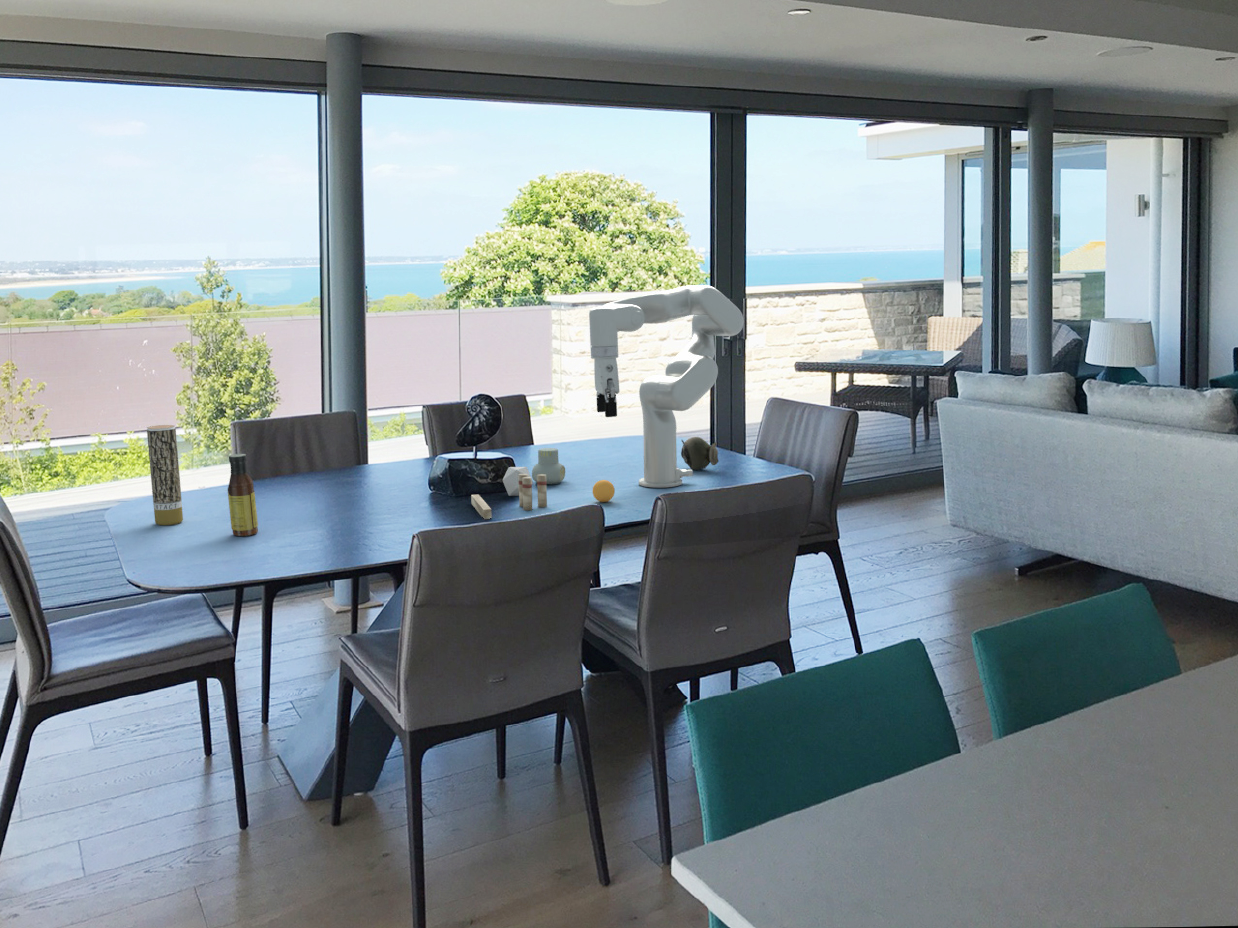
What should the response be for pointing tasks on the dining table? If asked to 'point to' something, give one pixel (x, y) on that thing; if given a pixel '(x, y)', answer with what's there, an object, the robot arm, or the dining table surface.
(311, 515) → the dining table surface
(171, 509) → the paper tube
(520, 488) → the pin
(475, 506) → the backstop
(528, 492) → the pin
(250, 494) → the sauce bottle
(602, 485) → the ball
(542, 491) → the front pin
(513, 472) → the die
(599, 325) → the robot arm
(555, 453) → the air freshener
